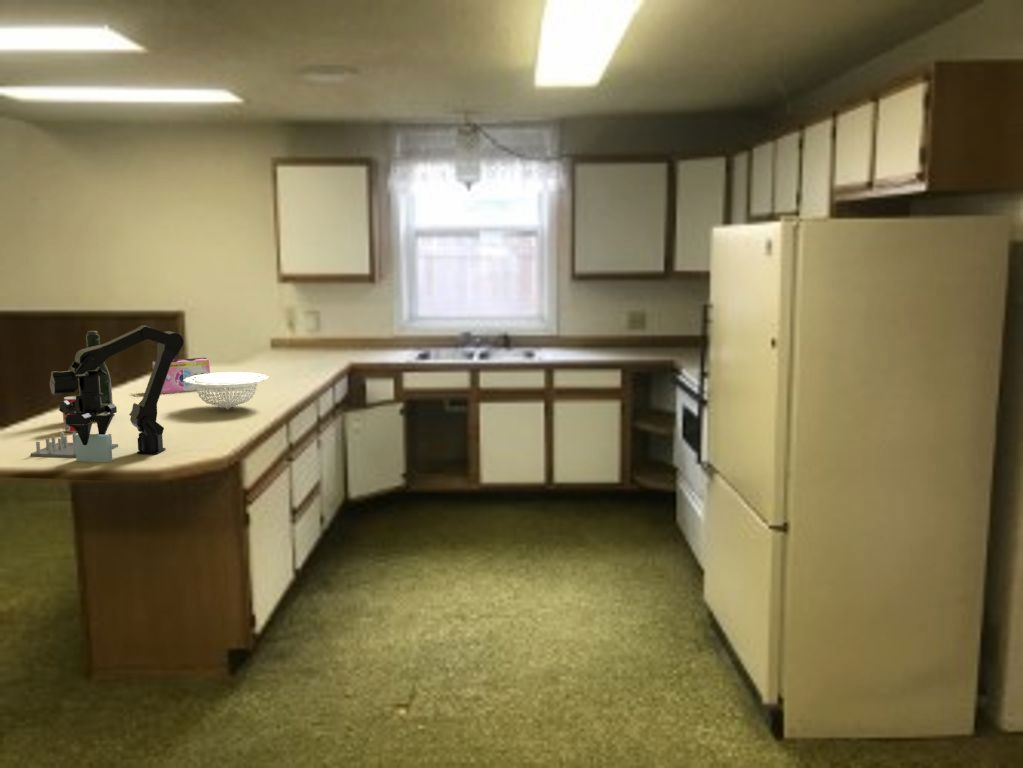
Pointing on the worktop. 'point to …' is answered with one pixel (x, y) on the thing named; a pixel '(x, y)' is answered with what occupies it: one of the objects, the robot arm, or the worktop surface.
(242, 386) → the colander
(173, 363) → the gum box
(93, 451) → the light blue rectangular slab
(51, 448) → the dish rack
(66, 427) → the soda can
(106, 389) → the dark green wine bottle
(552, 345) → the worktop surface
